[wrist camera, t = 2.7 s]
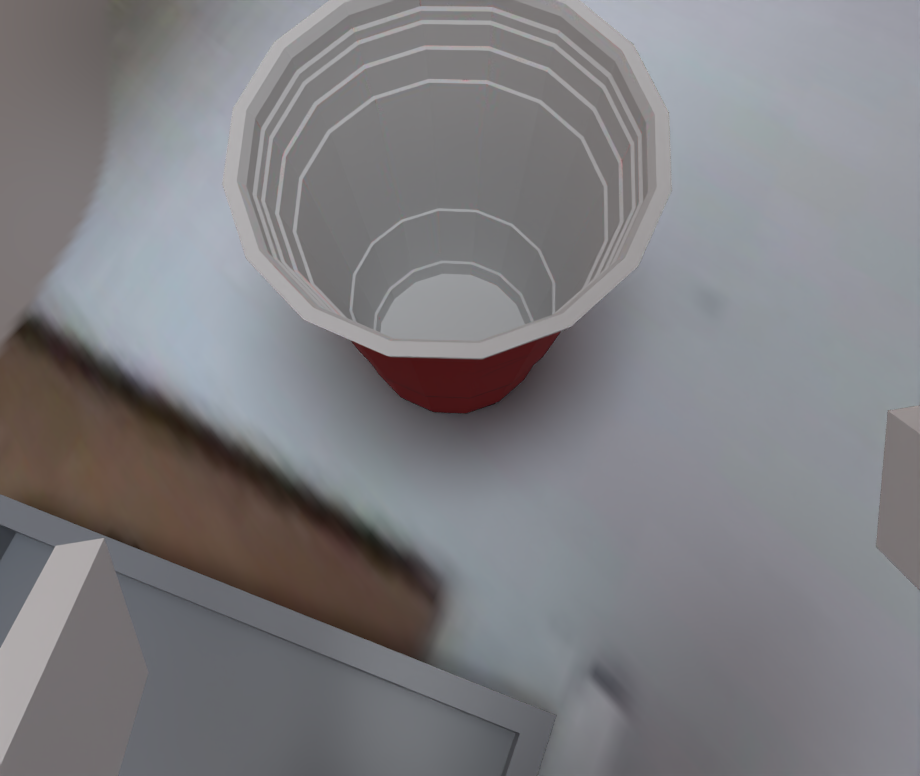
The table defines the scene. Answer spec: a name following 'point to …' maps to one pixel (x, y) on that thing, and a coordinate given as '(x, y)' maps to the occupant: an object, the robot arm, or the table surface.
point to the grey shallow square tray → (275, 680)
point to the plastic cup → (448, 181)
